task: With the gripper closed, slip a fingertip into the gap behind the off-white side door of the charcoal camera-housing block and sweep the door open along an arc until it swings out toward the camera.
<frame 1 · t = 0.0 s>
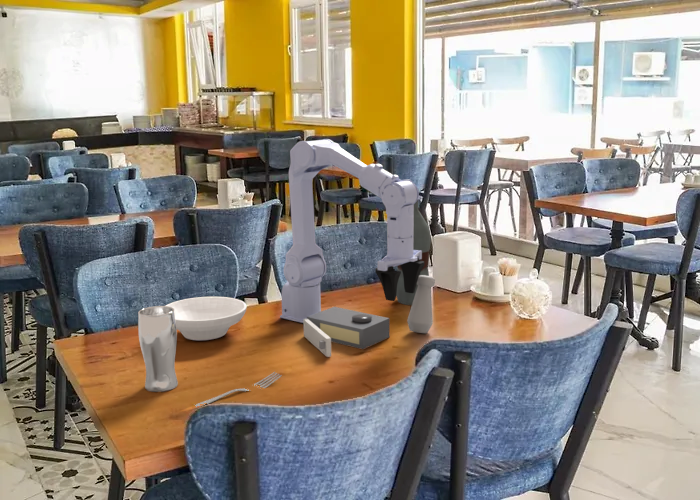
hand: (400, 296, 164), 10 cm above the table, tool pointing down, fingers open, 7 cm apart
fork: (225, 400, 136), on the table
beer glass: (161, 387, 142), on the table
camera housing: (348, 336, 169), on the table
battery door: (314, 337, 162), point 2 cm above the table, hinge at 30.0°
salt shaker: (418, 332, 170), on the table
bowl: (205, 337, 171), on the table
bottle: (412, 301, 197), on the table
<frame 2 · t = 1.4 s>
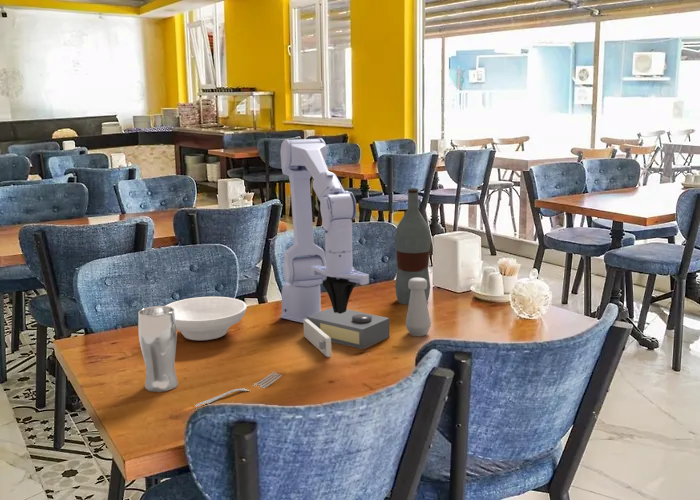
hand: (339, 312, 159), 8 cm above the table, tool pointing down, fingers closed
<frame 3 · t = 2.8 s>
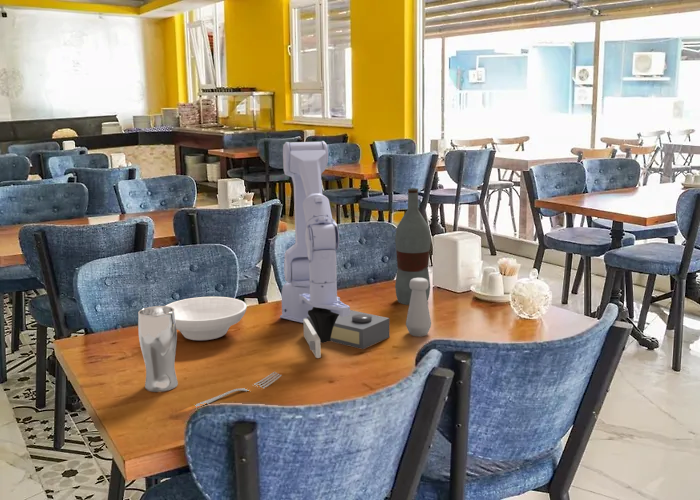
hand: (324, 341, 159), 2 cm above the table, tool pointing down, fingers closed
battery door: (309, 337, 162), point 2 cm above the table, hinge at 38.9°, touching gripper
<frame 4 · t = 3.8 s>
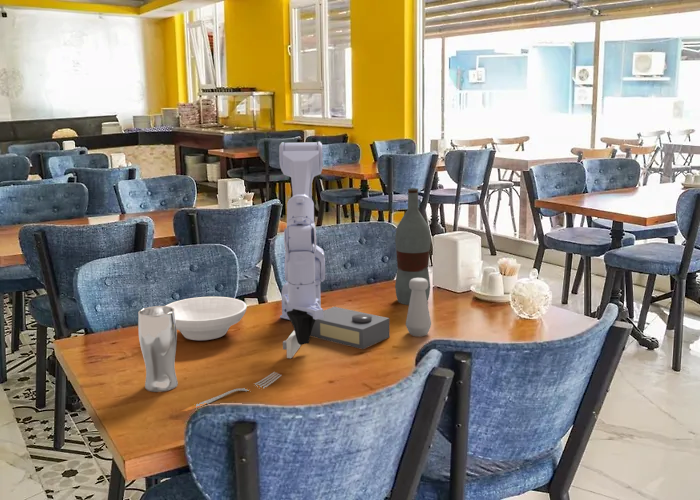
hand: (303, 343, 158), 2 cm above the table, tool pointing down, fingers closed
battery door: (295, 337, 162), point 2 cm above the table, hinge at 62.4°, touching gripper
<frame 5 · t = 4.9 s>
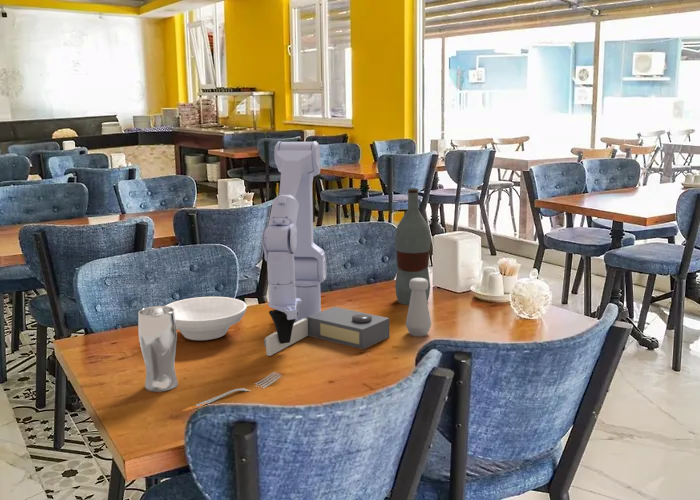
hand: (284, 342, 159), 2 cm above the table, tool pointing down, fingers closed, pressing on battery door
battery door: (286, 335, 163), point 2 cm above the table, hinge at 81.2°, touching camera housing, gripper
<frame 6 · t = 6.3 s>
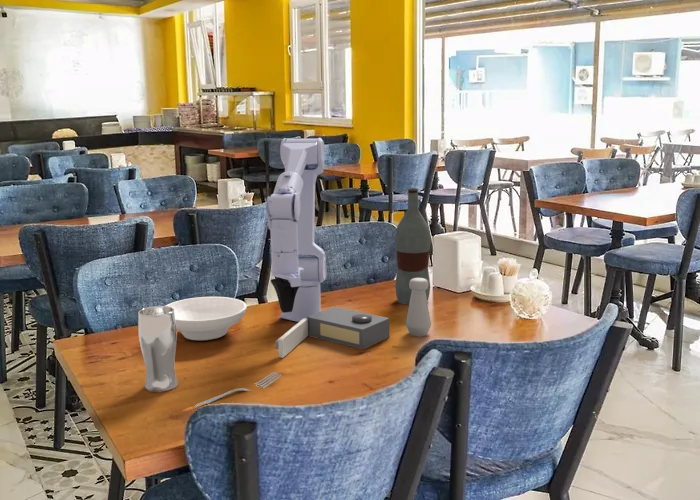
hand: (286, 311, 160), 8 cm above the table, tool pointing down, fingers closed
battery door: (292, 336, 162), point 2 cm above the table, hinge at 69.3°, touching camera housing
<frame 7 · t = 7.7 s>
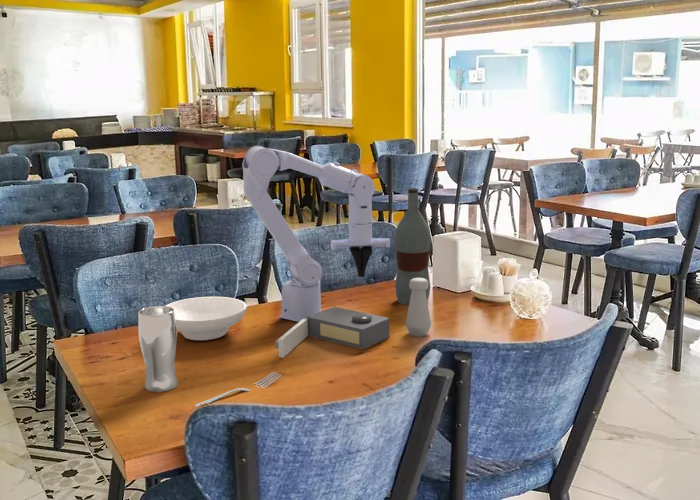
hand: (361, 276, 186), 9 cm above the table, tool pointing down, fingers closed
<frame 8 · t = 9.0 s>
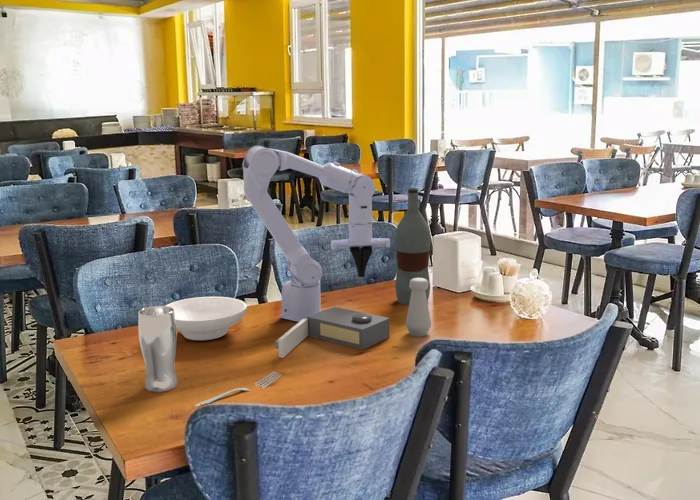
hand: (361, 276, 186), 9 cm above the table, tool pointing down, fingers closed
at the end: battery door at +69° (first picture: +30°); salt shaker moved 0.2 cm from its start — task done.
